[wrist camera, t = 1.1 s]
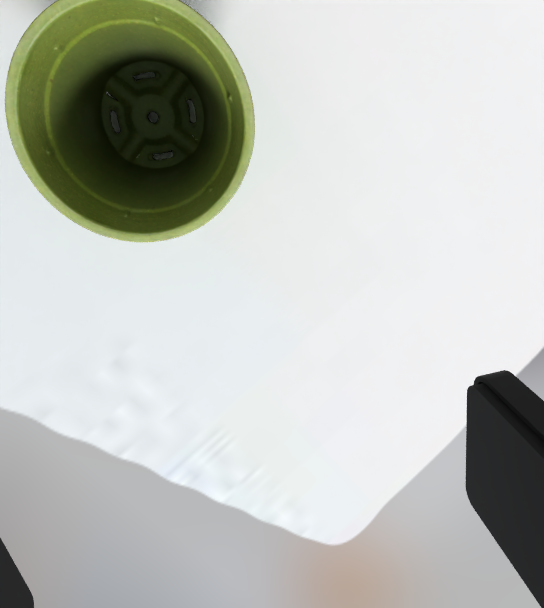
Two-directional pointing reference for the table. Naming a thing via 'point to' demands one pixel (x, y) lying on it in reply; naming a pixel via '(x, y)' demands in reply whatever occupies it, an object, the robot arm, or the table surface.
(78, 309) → the table surface
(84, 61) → the plant pot
